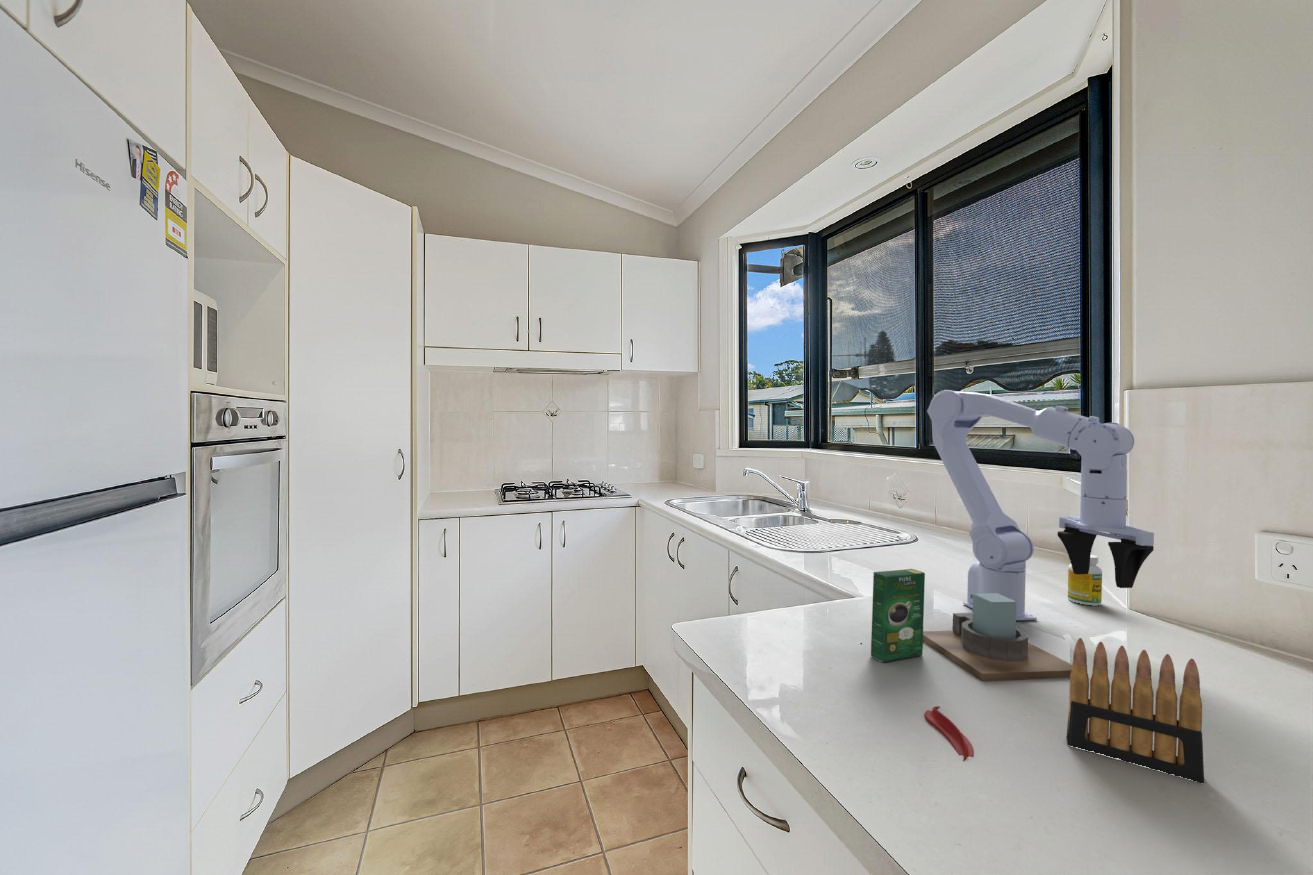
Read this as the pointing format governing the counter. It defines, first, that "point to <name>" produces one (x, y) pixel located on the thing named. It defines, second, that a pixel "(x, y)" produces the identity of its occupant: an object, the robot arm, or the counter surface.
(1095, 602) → the supplement bottle
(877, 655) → the coffee box
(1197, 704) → the ammunition clip
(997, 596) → the blue-gray rectangular block
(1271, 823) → the counter surface
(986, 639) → the cup bracket
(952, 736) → the cayenne pepper
